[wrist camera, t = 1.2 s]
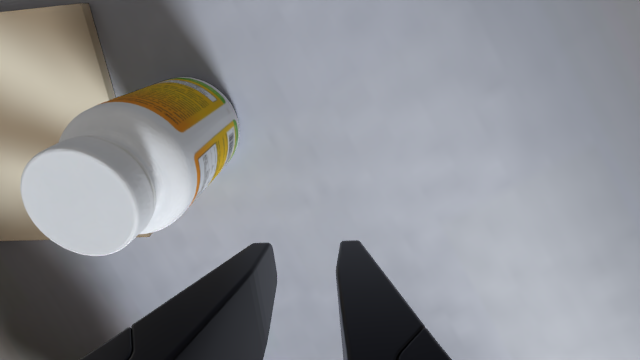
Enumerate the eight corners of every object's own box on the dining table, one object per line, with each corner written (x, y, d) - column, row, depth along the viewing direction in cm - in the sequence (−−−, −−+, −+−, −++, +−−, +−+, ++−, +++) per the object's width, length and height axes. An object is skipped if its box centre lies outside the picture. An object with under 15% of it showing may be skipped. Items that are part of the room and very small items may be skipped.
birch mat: (153, 231, 25) (149, 236, 24) (-18, 237, 26) (-26, 241, 26) (88, 3, 20) (80, 3, 19) (-119, 26, 21) (-131, 26, 21)
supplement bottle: (126, 98, 22) (-38, 161, 13) (211, 58, 20) (93, 97, 11) (177, 184, 23) (63, 291, 14) (258, 152, 22) (188, 249, 13)
